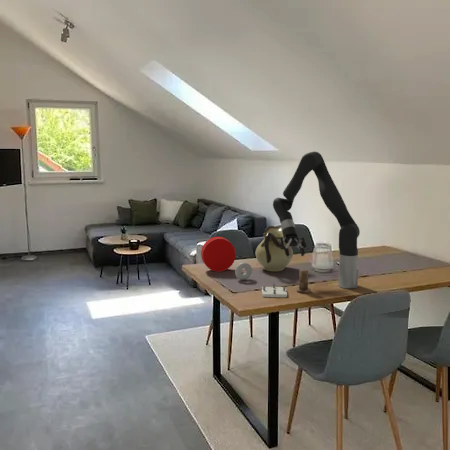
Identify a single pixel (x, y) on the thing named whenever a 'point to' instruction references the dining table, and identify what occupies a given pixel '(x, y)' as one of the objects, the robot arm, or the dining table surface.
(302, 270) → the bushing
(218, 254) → the red round disc
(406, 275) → the dining table surface
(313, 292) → the dining table surface
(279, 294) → the locating plate
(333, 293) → the dining table surface
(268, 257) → the tied beige sack
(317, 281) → the dining table surface
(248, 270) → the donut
